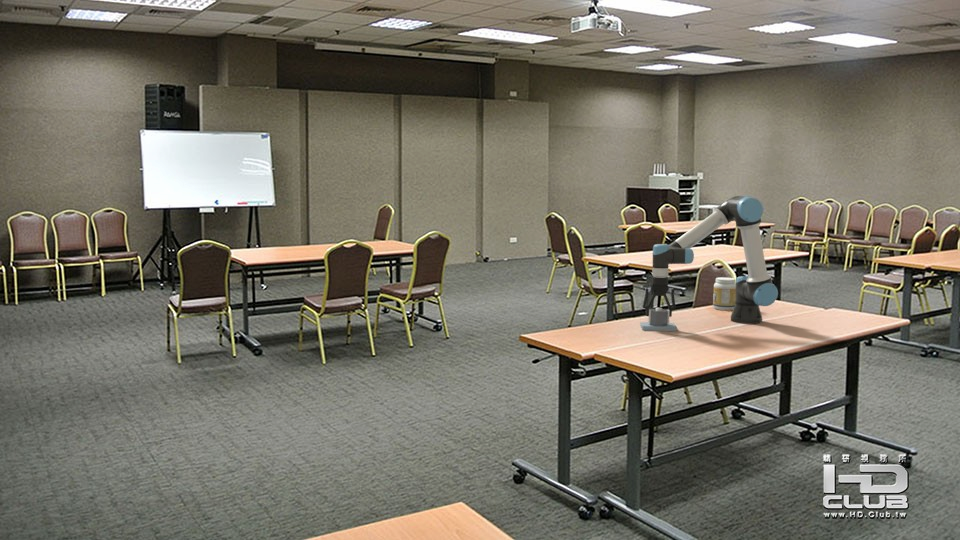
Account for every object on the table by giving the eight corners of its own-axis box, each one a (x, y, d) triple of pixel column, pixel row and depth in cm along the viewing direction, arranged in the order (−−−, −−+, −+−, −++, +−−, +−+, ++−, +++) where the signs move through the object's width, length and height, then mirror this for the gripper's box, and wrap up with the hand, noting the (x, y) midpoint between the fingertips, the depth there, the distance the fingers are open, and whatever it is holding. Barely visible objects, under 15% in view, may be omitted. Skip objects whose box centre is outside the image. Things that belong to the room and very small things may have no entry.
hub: (666, 323, 387) (666, 308, 387) (668, 326, 380) (668, 311, 379) (649, 322, 388) (649, 308, 387) (651, 326, 380) (651, 311, 380)
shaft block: (673, 327, 388) (674, 306, 387) (676, 331, 378) (677, 310, 377) (640, 326, 390) (641, 306, 389) (642, 330, 380) (643, 309, 379)
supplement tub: (710, 306, 447) (712, 276, 445) (733, 307, 446) (734, 277, 444) (715, 310, 435) (716, 279, 433) (737, 310, 434) (739, 280, 432)
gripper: (681, 275, 384) (679, 322, 386) (637, 275, 386) (635, 321, 389) (683, 277, 376) (681, 325, 379) (638, 277, 378) (637, 324, 381)
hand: (658, 323), depth 384 cm, fingers open, 8 cm apart
